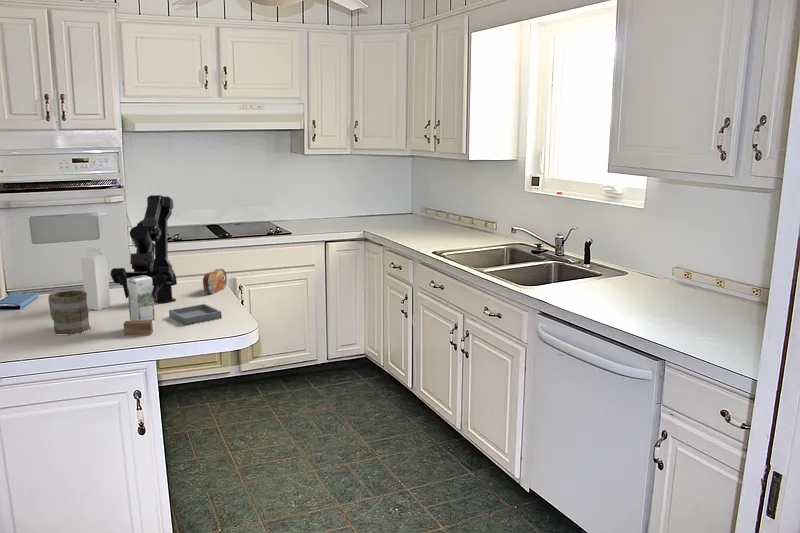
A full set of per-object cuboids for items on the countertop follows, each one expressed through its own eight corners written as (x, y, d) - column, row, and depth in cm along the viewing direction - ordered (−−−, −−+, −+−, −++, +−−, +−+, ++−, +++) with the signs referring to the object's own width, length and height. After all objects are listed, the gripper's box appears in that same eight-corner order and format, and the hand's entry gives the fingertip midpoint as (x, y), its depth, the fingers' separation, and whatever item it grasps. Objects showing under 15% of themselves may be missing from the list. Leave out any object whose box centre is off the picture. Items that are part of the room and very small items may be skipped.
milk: (98, 310, 241) (93, 250, 236) (85, 309, 243) (79, 248, 238) (111, 306, 247) (105, 247, 242) (98, 304, 249) (92, 245, 244)
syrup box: (145, 316, 224) (142, 274, 221) (155, 320, 221) (152, 277, 218) (129, 320, 220) (126, 277, 217) (139, 324, 217) (135, 280, 213)
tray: (169, 317, 233) (168, 310, 233) (204, 310, 241) (204, 303, 241) (185, 325, 224) (184, 318, 223) (221, 318, 232) (221, 311, 231)
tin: (209, 296, 262) (208, 274, 260) (202, 295, 262) (200, 274, 261) (227, 287, 276) (226, 266, 274) (220, 286, 277) (219, 266, 275)
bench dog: (126, 332, 216) (125, 320, 215) (153, 331, 217) (152, 319, 216) (124, 335, 213) (123, 323, 212) (150, 334, 214) (150, 322, 213)
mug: (97, 328, 220) (94, 292, 218) (67, 337, 211) (63, 300, 209) (67, 321, 228) (64, 286, 226) (37, 329, 219) (33, 293, 217)
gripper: (109, 243, 218) (102, 285, 209) (169, 242, 220) (165, 283, 212) (117, 262, 227) (111, 303, 219) (175, 261, 229) (171, 301, 221)
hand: (139, 297), depth 217 cm, fingers closed on syrup box, 8 cm apart
